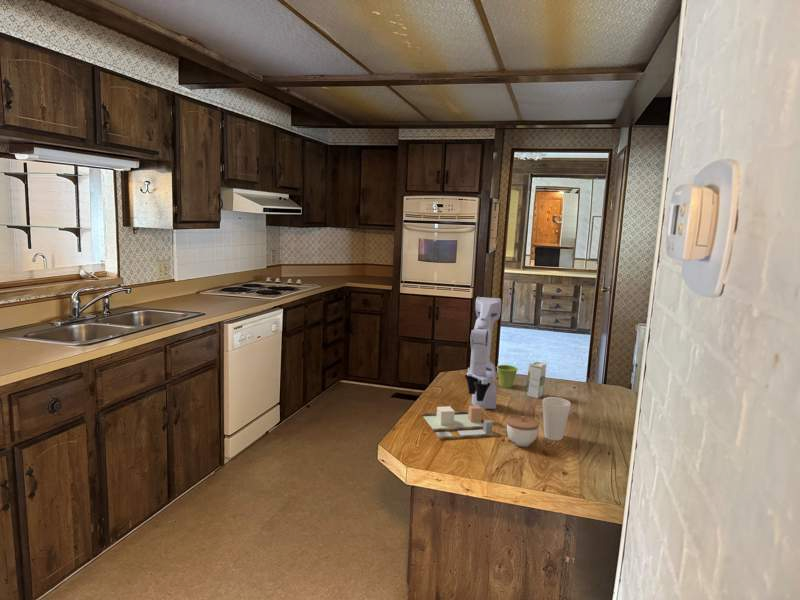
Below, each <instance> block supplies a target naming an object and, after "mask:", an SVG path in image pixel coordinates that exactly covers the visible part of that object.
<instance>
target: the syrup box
mask: <svg viewBox="0 0 800 600" xmlns="http://www.w3.org/2000/svg"><path fill="white" fill-rule="evenodd" d="M546 370H547V363H544V362H540V361H533V362H531V363H528V372H527V382H526V390H525V391H526V392H525V396H526V397H530V398H535V399H539V398H541V397H543V395H544V390H545V383H546Z"/></svg>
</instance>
